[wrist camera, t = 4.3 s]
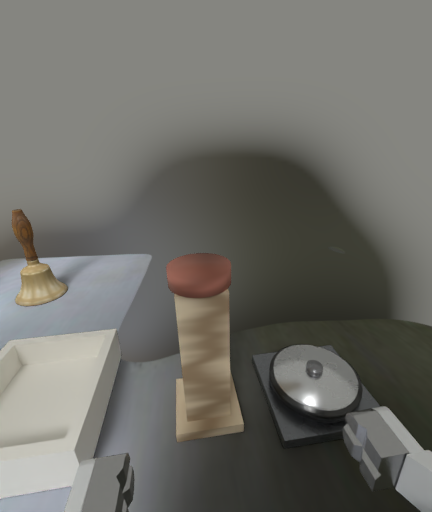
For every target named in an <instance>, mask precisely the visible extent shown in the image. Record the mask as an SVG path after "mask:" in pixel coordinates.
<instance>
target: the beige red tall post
mask: <svg viewBox="0 0 432 512" xmlns="http://www.w3.org/2000/svg"><path fill="white" fill-rule="evenodd" d="M166 269H167V279H168V287H169V289H170V291H172V292H173V293H174V294H175V295H174V297H175V308H176V316H177V326H178V336H179V346H180V356H181V366H182V375H183V378H181V379H176V438H177V442H183V441H189V440H195V439H201V438H207V437H213V436H219V435H225V434H231V433H237V432H243V431H244V423H243V418H242V414H241V410H240V406H239V402H238V398H237V394H236V390H235V386H234V382H233V378H232V374H231V372H230V332H229V331H230V327H229V326H230V325H229V290H228V288H229V286H230V285H231V263H230V261H229V260H228V259H227V258H225V257H223V256H220V255H216V254H209V253H196V254H189V255H184V256H181V257H178V258H175V259H173V260H172V261H170V262H169V263H168V264H167V267H166Z"/></svg>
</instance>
